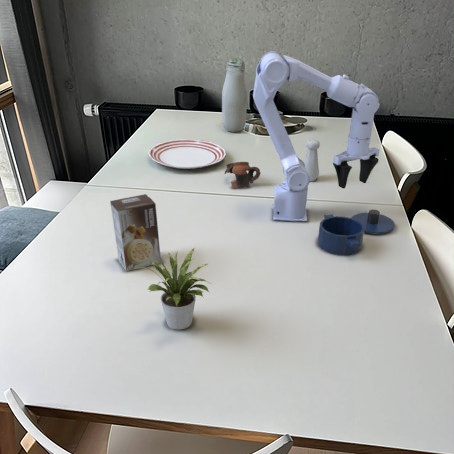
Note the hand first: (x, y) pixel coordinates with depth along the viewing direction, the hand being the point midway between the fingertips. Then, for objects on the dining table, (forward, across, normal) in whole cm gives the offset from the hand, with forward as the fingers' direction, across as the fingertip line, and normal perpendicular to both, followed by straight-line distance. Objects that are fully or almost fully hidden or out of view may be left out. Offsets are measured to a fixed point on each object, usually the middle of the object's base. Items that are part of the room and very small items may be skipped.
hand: (352, 184), depth 145 cm
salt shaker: (+10, +7, +27) cm, 29 cm away
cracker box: (+10, -63, +5) cm, 64 cm away
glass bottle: (+10, +11, +84) cm, 85 cm away
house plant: (+10, -66, -22) cm, 70 cm away
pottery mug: (+10, -15, +35) cm, 39 cm away
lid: (+9, +2, -8) cm, 12 cm away
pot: (+9, -14, -12) cm, 21 cm away
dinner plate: (+10, -21, +62) cm, 66 cm away
